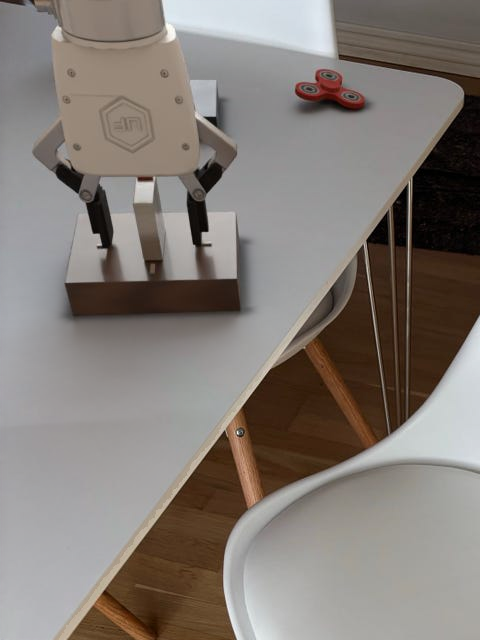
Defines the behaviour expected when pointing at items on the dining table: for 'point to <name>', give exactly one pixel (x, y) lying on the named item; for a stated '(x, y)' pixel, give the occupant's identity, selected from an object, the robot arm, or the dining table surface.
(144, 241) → the red-tipped white slab
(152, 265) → the panel
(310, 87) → the fidget spinner
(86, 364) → the dining table surface
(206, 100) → the button block
